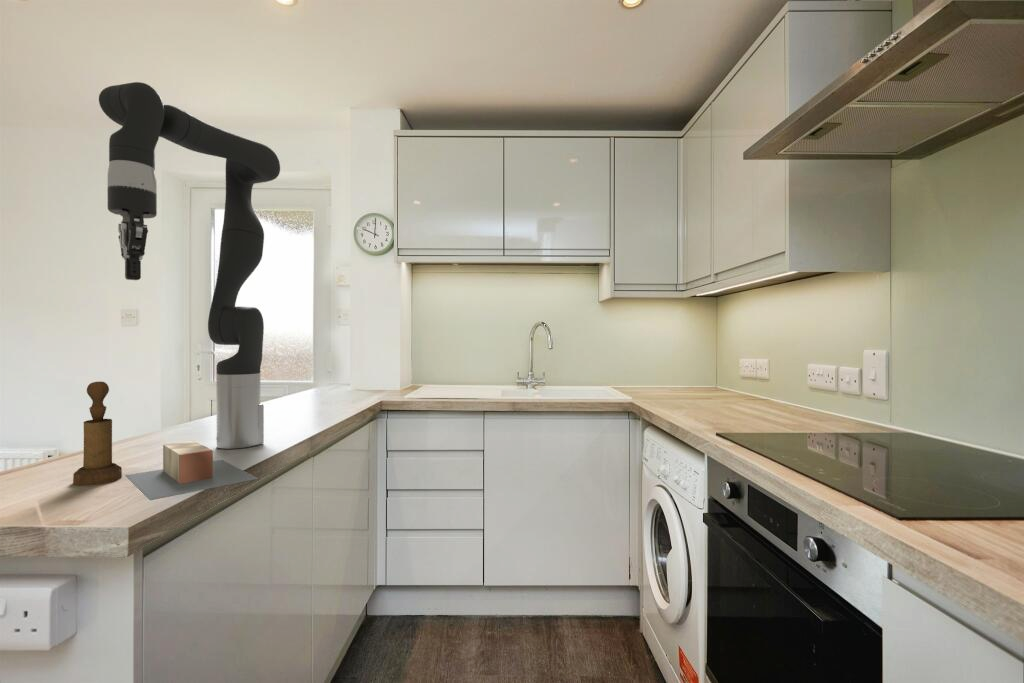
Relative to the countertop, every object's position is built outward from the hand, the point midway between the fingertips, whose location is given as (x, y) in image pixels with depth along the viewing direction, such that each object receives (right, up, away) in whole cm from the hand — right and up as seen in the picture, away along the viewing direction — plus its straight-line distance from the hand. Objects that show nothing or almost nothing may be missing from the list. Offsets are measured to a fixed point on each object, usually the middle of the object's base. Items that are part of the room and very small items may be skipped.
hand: (132, 279), depth 95 cm
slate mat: (+15, -37, -6) cm, 40 cm away
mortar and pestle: (0, -37, -8) cm, 38 cm away
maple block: (+18, -34, -8) cm, 39 cm away
